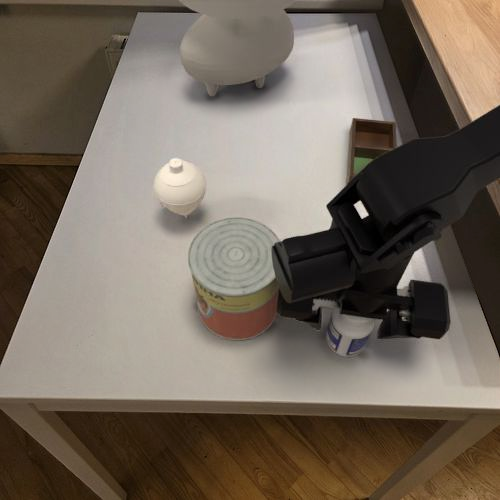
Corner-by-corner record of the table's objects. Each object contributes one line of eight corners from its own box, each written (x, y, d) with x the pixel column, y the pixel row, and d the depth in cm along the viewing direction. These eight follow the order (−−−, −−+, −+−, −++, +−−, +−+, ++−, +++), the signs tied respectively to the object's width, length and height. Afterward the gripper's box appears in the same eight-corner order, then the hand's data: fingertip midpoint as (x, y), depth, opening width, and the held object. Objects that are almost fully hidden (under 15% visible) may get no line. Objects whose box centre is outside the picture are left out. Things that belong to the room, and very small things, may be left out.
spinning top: (200, 241, 69) (191, 187, 60) (154, 229, 71) (138, 175, 61) (216, 205, 74) (211, 149, 64) (173, 195, 75) (161, 138, 65)
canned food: (186, 285, 65) (175, 234, 55) (257, 259, 67) (258, 206, 58) (215, 353, 59) (208, 310, 49) (292, 321, 61) (300, 274, 52)
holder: (391, 134, 84) (395, 122, 81) (393, 193, 75) (398, 180, 73) (349, 130, 84) (352, 117, 82) (346, 187, 76) (349, 175, 73)
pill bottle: (368, 327, 61) (384, 294, 54) (361, 363, 58) (376, 333, 51) (330, 316, 62) (340, 282, 55) (320, 350, 59) (330, 319, 52)
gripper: (462, 214, 49) (418, 288, 62) (291, 194, 51) (283, 270, 64) (474, 303, 43) (423, 365, 55) (279, 277, 45) (273, 342, 57)
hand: (348, 331), depth 58 cm, fingers open, 7 cm apart
